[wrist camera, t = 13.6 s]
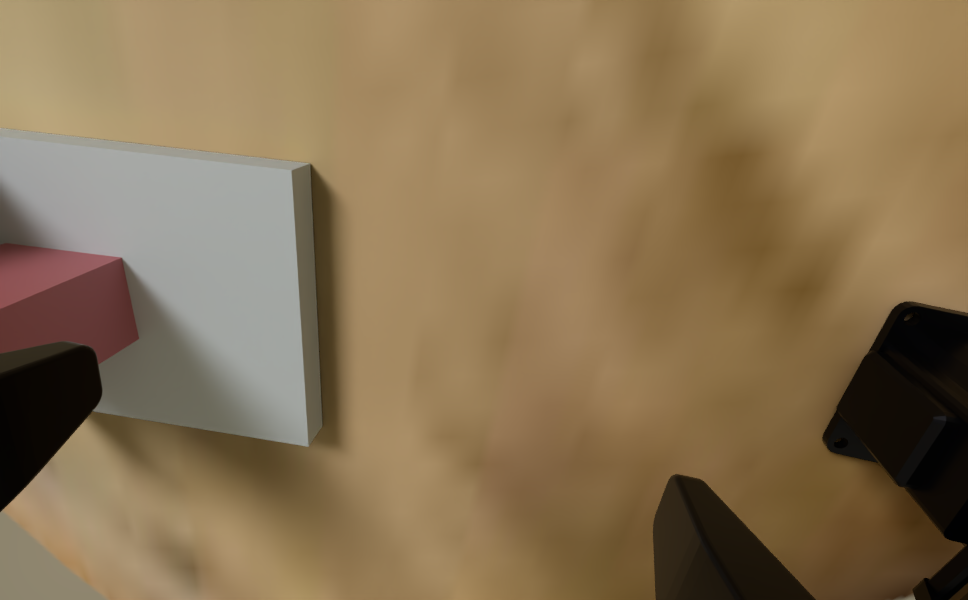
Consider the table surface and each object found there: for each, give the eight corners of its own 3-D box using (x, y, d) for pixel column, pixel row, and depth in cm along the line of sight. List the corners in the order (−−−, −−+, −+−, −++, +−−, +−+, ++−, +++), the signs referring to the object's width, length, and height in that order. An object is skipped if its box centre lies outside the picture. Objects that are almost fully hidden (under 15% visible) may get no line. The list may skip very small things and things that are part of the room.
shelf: (309, 163, 20) (176, 212, 13) (322, 425, 25) (230, 562, 18) (-30, 124, 21) (-316, 150, 14) (46, 381, 26) (-140, 493, 19)
